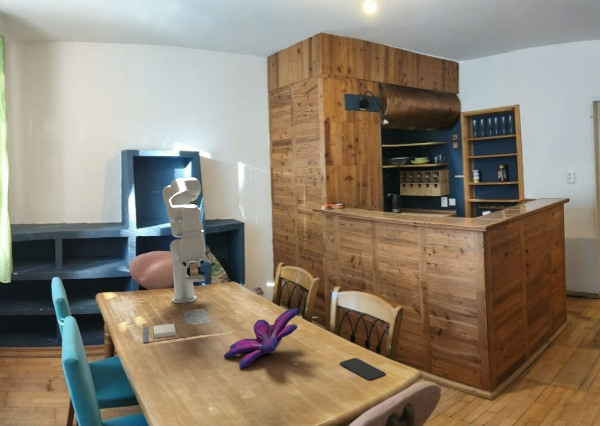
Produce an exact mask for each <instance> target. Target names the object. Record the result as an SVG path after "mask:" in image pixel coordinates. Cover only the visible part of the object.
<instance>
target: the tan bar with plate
mask: <svg viewBox="0 0 600 426" xmlns="http://www.w3.org/2000/svg"><path fill="white" fill-rule="evenodd" d="M189 266H190V275H191V277H186V279H187V282H188V283H190V282H193V283H199V282H206V278H205V276H204V275H199V276H198V265H197V261H196V260H192V261H189Z"/></svg>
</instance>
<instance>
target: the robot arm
mask: <svg viewBox="0 0 600 426" xmlns="http://www.w3.org/2000/svg"><path fill="white" fill-rule="evenodd" d="M201 191H202V186H201V183H200V180H199V179H198V178H196V177H189V178H187V177H186V178H185V177H184V178H180V177H179V178H176V179H173V180H172V181H171V183H170V185H167V186H165V187H164V188H163V189H162V197H163V198H162V199H163V201H164V204H165V206H166V214H167V217H168V219H169V223H170V230H171V231H170V232H171V235H172V236H173V237H175V238H178V239H174V240H172V242H170V243H169V244H170V245H169V249H170V254H171V260H172V269H173V274H172V275H173V289H174V297H172V298H171V302H172V303H174V304H187V303H191V302H195V301H196V300H197V299H198V296H197V295H195V293H194V282H190V283H188V282H187V279H186V277H191V275H190V266H189V261H193V260H195V261H196V263H197V265H198V276H200V275H201V266H202V265H203V264H204V263H205V262H206V261H208V260H209V257H208V255H206V251H207V250H206V249H207V248H206V241H205V232H204V227H203V223H202V220H201V216H202V215H201V214H202V212H201V208H200V207H199V206H198V205H197V204H190V203H191V202H192V201H197V199H198V197H199V196H200V195H201Z"/></svg>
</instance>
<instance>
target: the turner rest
mask: <svg viewBox="0 0 600 426" xmlns="http://www.w3.org/2000/svg"><path fill="white" fill-rule="evenodd" d="M181 312H182V316H183V318H184V323H185V324H186V326H190V325H191V326H192V325H199V324H200V325H201V324H206V323H207V324H208V323H211V320H210V318H209V316H208V314H207V312H206V309H205V308H195V309H189V310H182V311H181Z"/></svg>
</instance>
